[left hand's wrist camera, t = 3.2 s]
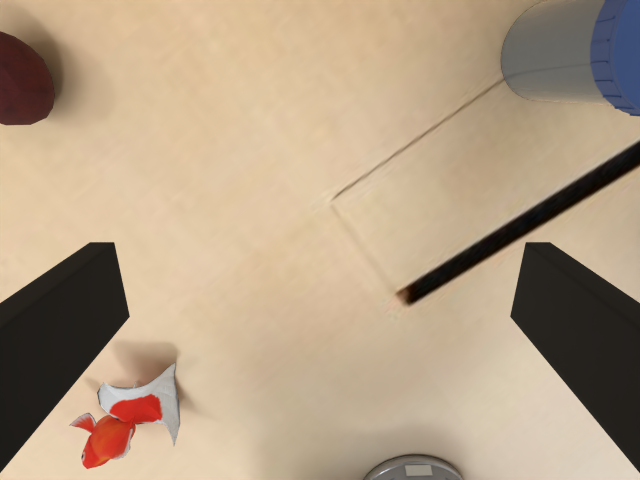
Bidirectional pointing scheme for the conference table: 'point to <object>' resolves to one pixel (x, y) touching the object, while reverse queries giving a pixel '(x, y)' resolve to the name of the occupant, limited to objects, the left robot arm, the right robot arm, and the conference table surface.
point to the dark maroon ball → (23, 83)
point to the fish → (129, 417)
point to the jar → (553, 52)
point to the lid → (618, 54)
